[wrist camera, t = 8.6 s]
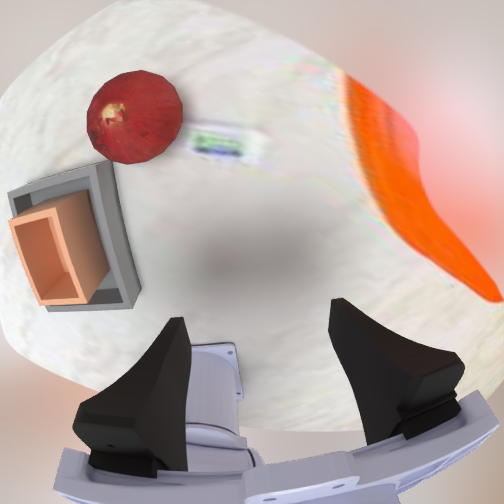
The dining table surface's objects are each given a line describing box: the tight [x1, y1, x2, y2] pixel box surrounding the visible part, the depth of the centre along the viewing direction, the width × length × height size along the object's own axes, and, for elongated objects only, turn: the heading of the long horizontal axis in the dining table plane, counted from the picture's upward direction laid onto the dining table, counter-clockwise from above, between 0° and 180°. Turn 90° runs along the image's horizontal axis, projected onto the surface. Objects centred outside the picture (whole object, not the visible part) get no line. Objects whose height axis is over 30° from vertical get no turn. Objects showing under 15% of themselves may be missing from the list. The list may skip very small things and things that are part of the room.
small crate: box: [8, 189, 110, 306], centre depth 17 cm, size 7×5×5 cm
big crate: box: [8, 160, 141, 312], centre depth 19 cm, size 11×9×3 cm
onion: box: [87, 70, 182, 165], centre depth 14 cm, size 6×6×8 cm
